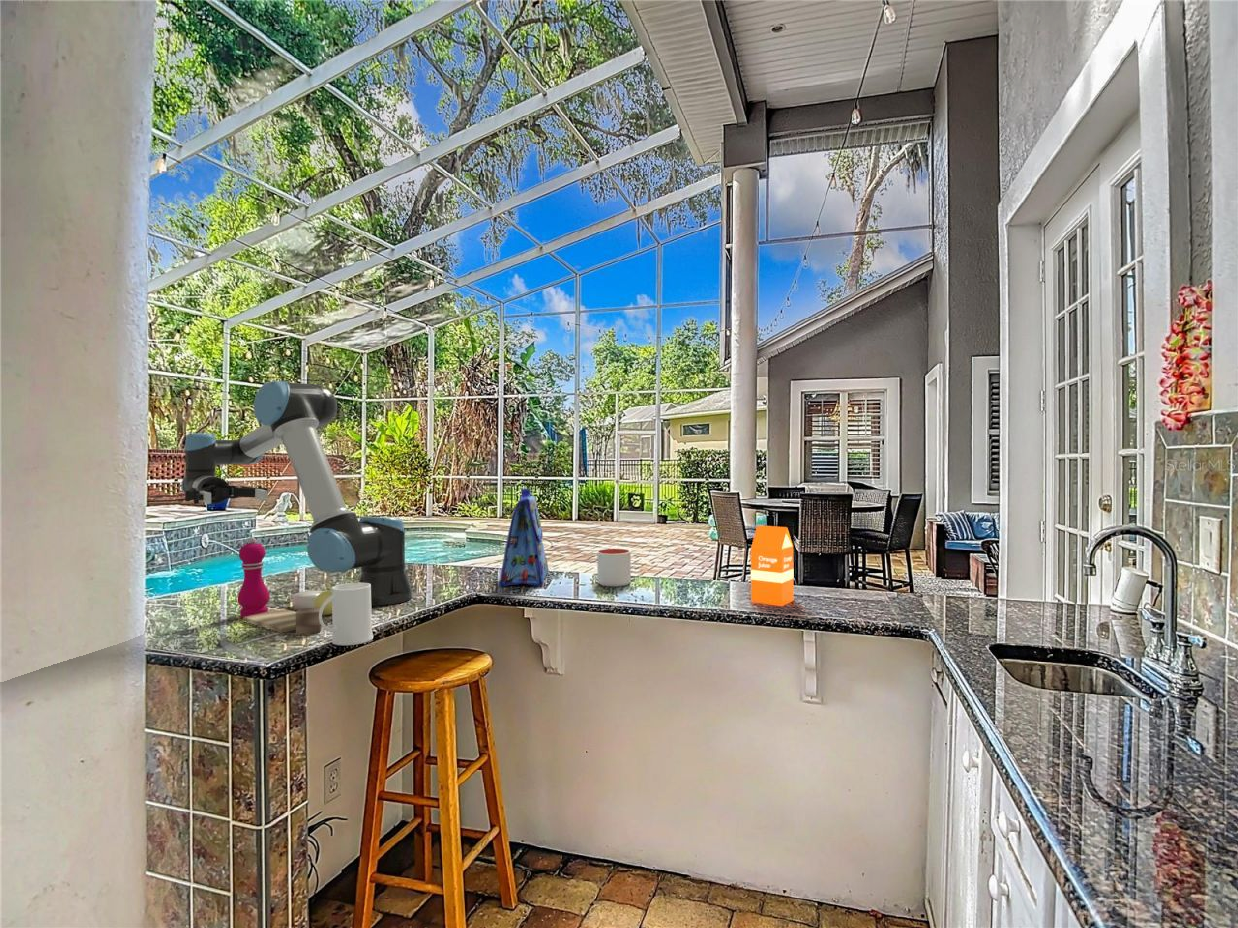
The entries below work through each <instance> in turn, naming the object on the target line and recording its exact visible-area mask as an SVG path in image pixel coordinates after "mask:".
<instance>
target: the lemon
mask: <svg viewBox="0 0 1238 928" xmlns="http://www.w3.org/2000/svg"><path fill="white" fill-rule="evenodd" d="M330 596H332V590H331V591H330V590H327V591H324V592H322V593H320V594H319V595H318V596H317V597H316V599H315V601H314V607H321V606H322V604H323V603H324V601H325V600H326V599H327V598H329V597H330ZM330 615H332V601H330V602H329V603H328V604H327V605H326V606H325V607H324V609H323V612H322V616H330Z"/></svg>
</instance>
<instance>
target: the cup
mask: <svg viewBox="0 0 1238 928" xmlns="http://www.w3.org/2000/svg"><path fill="white" fill-rule="evenodd" d="M596 556H597V557H596V558H597V560H596V561H597V564H596V565H597V583H598V584H599V585H601V586H603V587H608V588H609V587H610V588H616V587H618V588H619V587H624V586H627V585H629V584H630V583H631V581H632V578H631V577H632V576H631V575H632V574H631V571H632V570H631V566H632V565H631V564H632V563H631V550H629V549H625V548H604V549H600V550H598V551H596Z"/></svg>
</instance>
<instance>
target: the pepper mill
mask: <svg viewBox="0 0 1238 928" xmlns="http://www.w3.org/2000/svg"><path fill="white" fill-rule="evenodd" d="M256 542H257V540H256V538H255V537H254V536H251V537H249V538H248V540H247V543H246V544H244V545H242V546H241V547H240V548H239V551H238V557H239V559H240V560H241V562H242V563H241V569H242V571H243V581H242V582H243V583H242V585H241V587H240V589H239V591H238V594H237V604H239V606H241V607H242V608H241V609H240V610H239V615H240V618H242V617H246V616H251V615H255V614H260V613H265V612H269V607H268V606H267V603H268V602H269V600H270V598H271V597H270V592H269V589H268V587H267V586H266V583H265V582H264V580H263V575H262V574H263V573H262V570H263V568H264V567H265V566H264V561H263V559H264V558H265V557H266V553H267V552H266V549H265V547H264V545H262V544H261V543H256Z"/></svg>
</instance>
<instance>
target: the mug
mask: <svg viewBox="0 0 1238 928" xmlns="http://www.w3.org/2000/svg"><path fill="white" fill-rule="evenodd" d="M331 592H332V596H330V597H329V598H327V599H326V600H325V601H324V603H323V604H322V606H321V608H320V611H319V621H320V624H321V628H323V629H324V630H325V631H327V632H329V633H332V639H331V643H332V644H333V645H335V646H355V645H361V644H366V643H368V642H370V641H372V640H373V638H374V634H373V620H372V606H371V584H369V583H361V582H359V581H357V582H347V583H341V584H336V585H334V586H332V587H331ZM330 601H332V614H331V617H332V627H330V626H327V625H326V624H325V622H324V621H323V615H322V612H323V609H324V607H325V606H326V605H327V604H328V603H329V602H330Z"/></svg>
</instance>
